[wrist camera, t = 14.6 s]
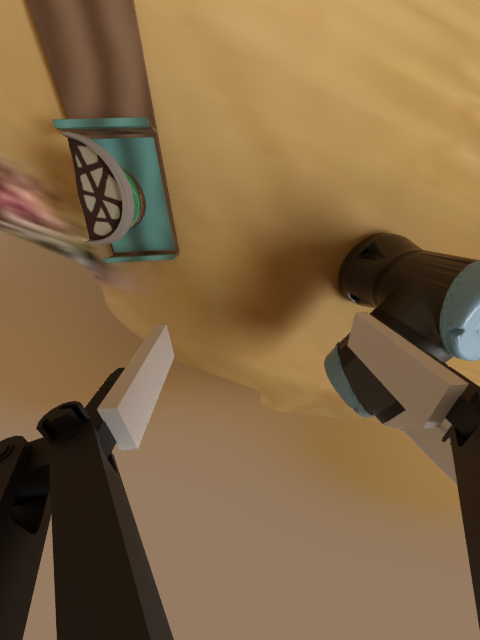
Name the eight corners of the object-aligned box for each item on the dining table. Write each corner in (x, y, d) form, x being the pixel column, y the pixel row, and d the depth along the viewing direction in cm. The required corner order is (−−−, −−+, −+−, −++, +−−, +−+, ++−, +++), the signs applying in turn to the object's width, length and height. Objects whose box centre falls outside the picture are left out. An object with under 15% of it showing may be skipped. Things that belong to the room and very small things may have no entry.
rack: (118, -82, 22) (94, -150, 17) (179, 254, 39) (174, 259, 35) (4, -84, 21) (-49, -155, 17) (117, 257, 38) (104, 263, 34)
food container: (155, 242, 36) (133, 252, 27) (120, 238, 35) (86, 246, 27) (150, 158, 30) (119, 136, 22) (107, 151, 30) (58, 125, 21)
